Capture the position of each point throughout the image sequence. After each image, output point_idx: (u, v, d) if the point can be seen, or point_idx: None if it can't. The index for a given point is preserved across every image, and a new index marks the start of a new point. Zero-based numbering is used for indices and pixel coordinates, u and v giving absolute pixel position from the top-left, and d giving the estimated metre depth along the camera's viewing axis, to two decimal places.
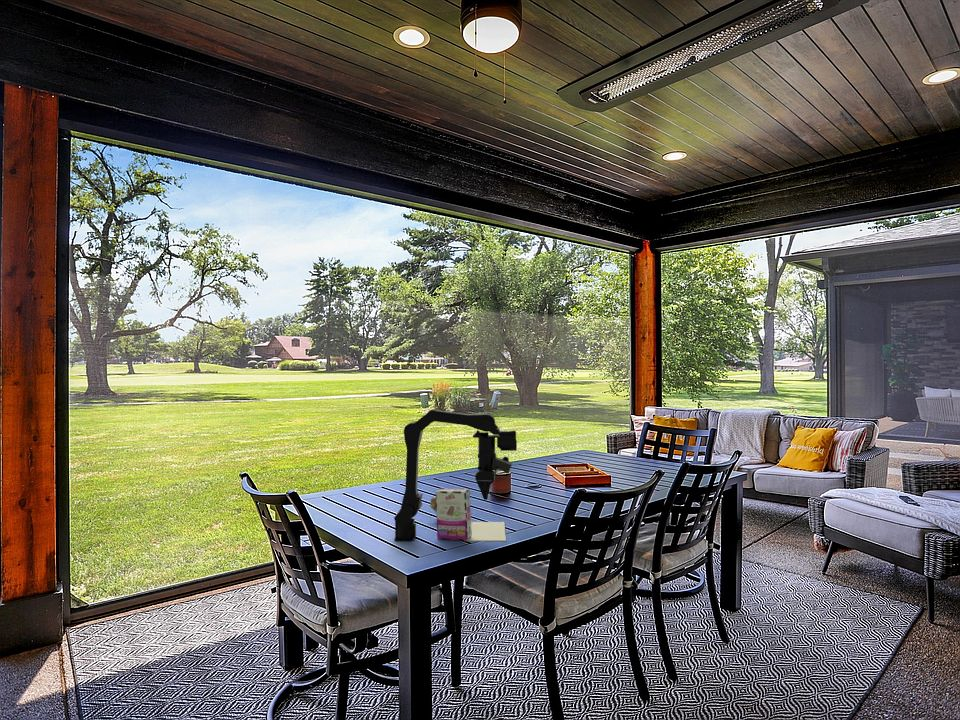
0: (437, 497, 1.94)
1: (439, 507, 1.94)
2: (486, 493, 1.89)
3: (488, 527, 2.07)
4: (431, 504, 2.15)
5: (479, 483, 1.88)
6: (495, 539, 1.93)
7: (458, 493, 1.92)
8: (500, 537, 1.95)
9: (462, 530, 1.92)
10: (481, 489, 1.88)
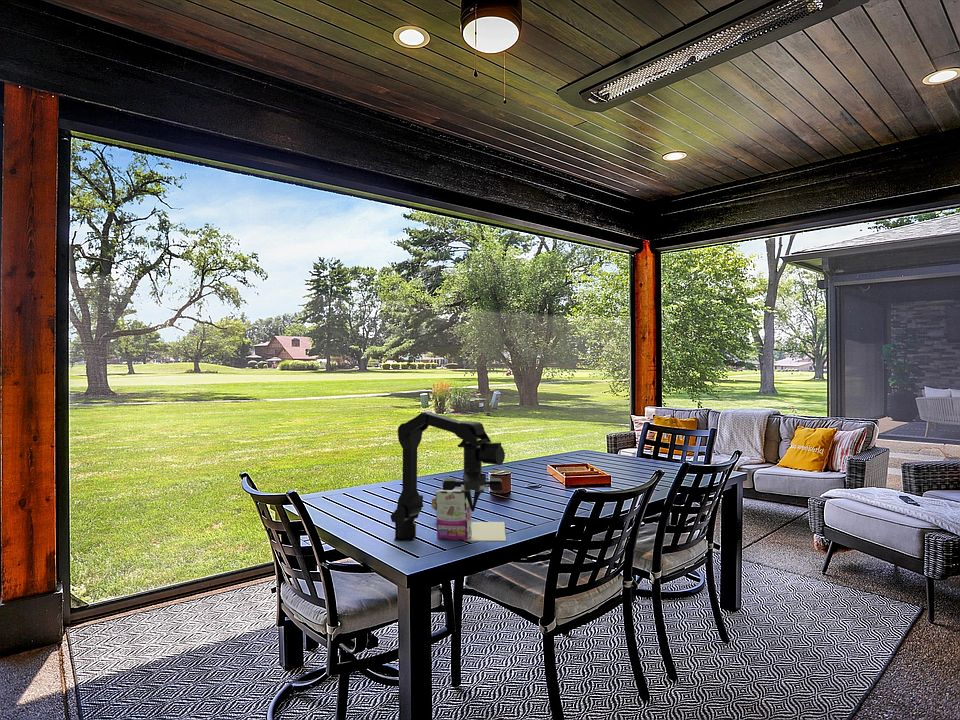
0: (437, 497, 1.94)
1: (439, 507, 1.94)
2: (469, 504, 1.81)
3: (488, 527, 2.07)
4: (432, 504, 2.14)
5: None
6: (495, 539, 1.93)
7: (458, 493, 1.92)
8: (500, 537, 1.95)
9: (462, 530, 1.92)
10: None
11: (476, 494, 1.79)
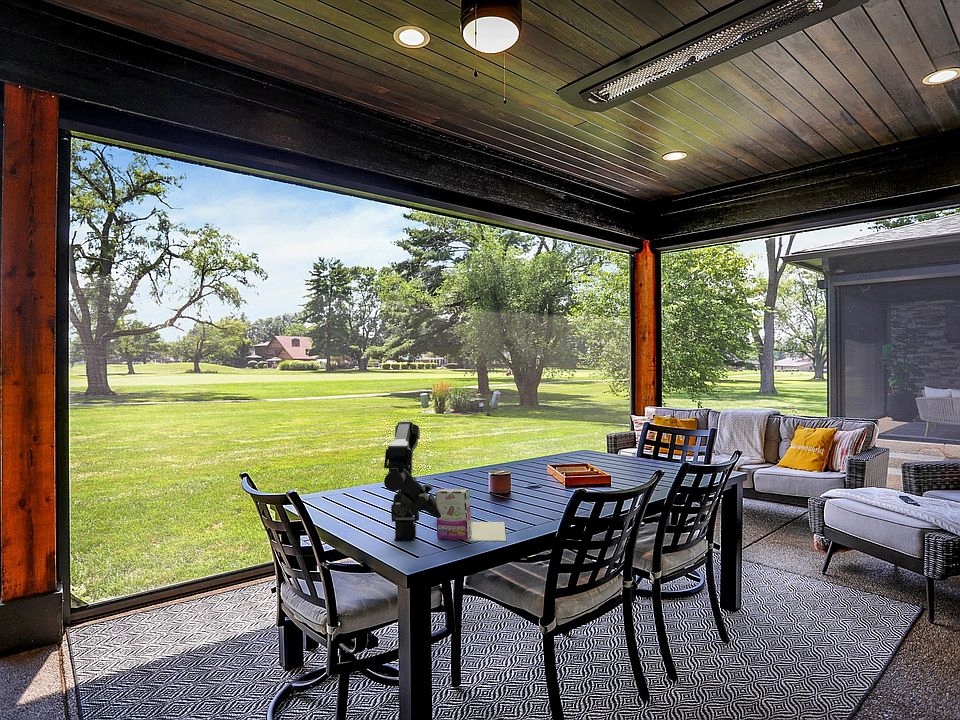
0: (437, 497, 1.94)
1: (439, 507, 1.94)
2: None
3: (488, 527, 2.07)
4: None
5: None
6: (495, 539, 1.93)
7: (458, 493, 1.92)
8: (500, 537, 1.95)
9: (462, 530, 1.92)
10: None
11: None
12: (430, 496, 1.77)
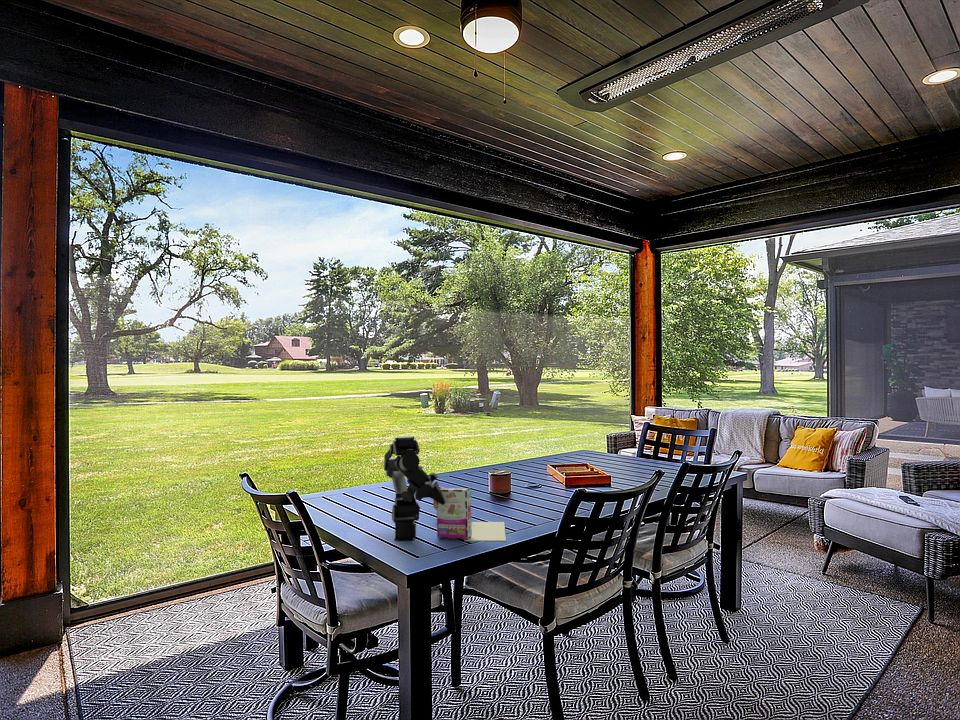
0: None
1: (439, 505, 1.95)
2: None
3: (488, 527, 2.07)
4: (434, 504, 2.14)
5: None
6: (495, 539, 1.93)
7: (459, 491, 1.93)
8: (500, 537, 1.95)
9: (462, 528, 1.92)
10: None
11: None
12: (435, 484, 1.91)
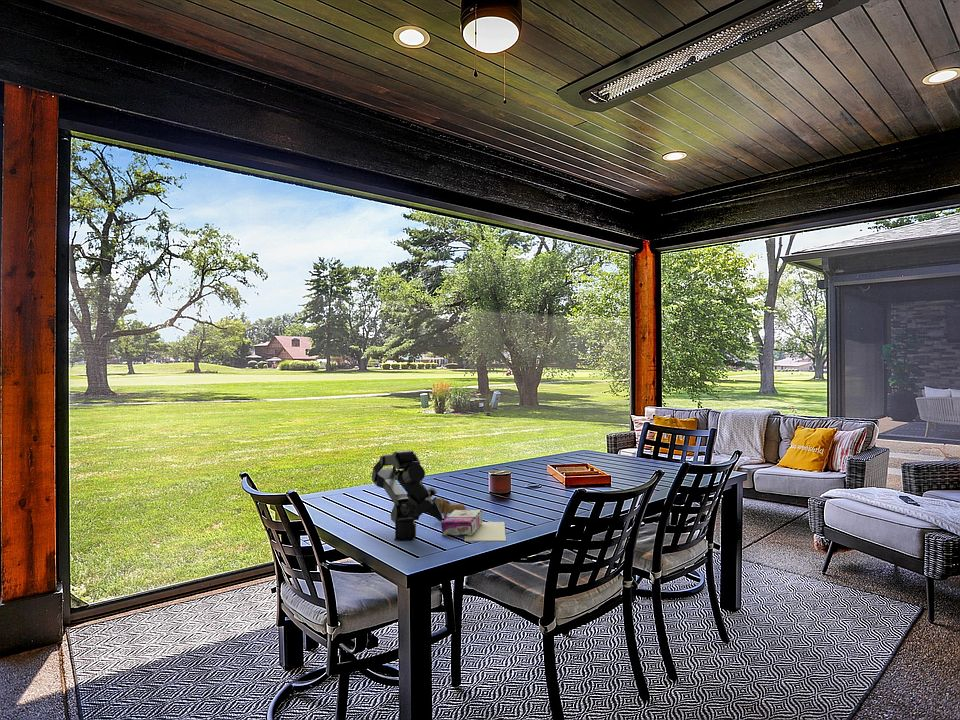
0: (454, 511, 2.12)
1: (452, 513, 2.08)
2: None
3: (488, 527, 2.07)
4: None
5: None
6: (495, 539, 1.93)
7: (475, 510, 2.11)
8: (500, 537, 1.95)
9: (468, 519, 1.99)
10: None
11: None
12: (434, 500, 1.92)
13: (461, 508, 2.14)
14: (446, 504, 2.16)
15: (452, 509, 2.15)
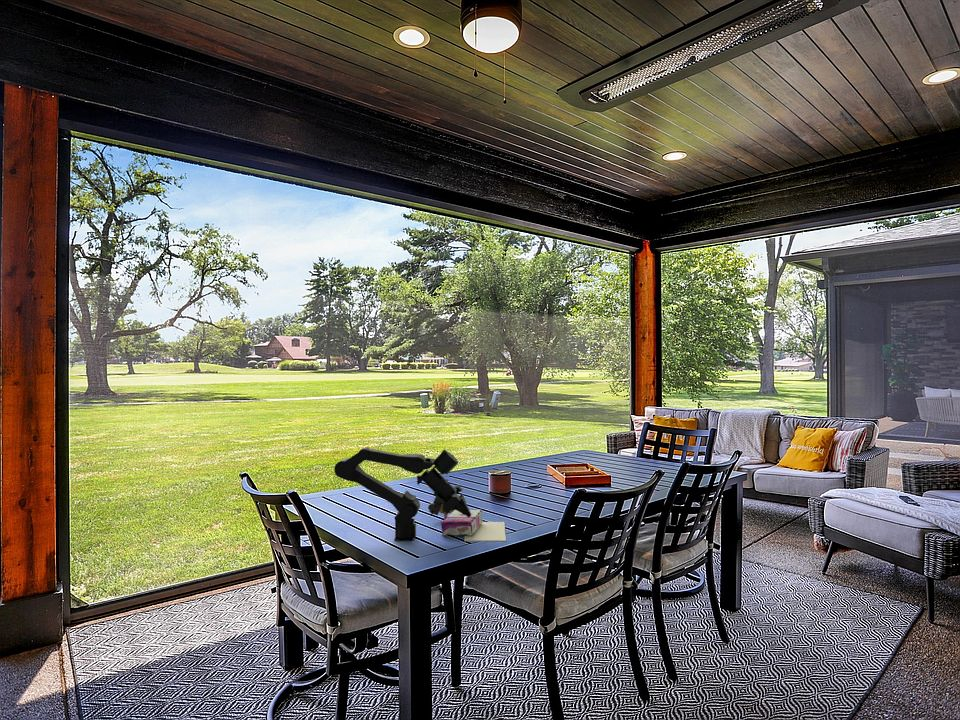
0: (454, 511, 2.12)
1: (452, 513, 2.08)
2: None
3: (488, 527, 2.07)
4: None
5: None
6: (495, 539, 1.93)
7: (475, 510, 2.11)
8: (500, 537, 1.95)
9: (468, 519, 1.99)
10: None
11: None
12: (461, 497, 1.93)
13: None
14: None
15: None
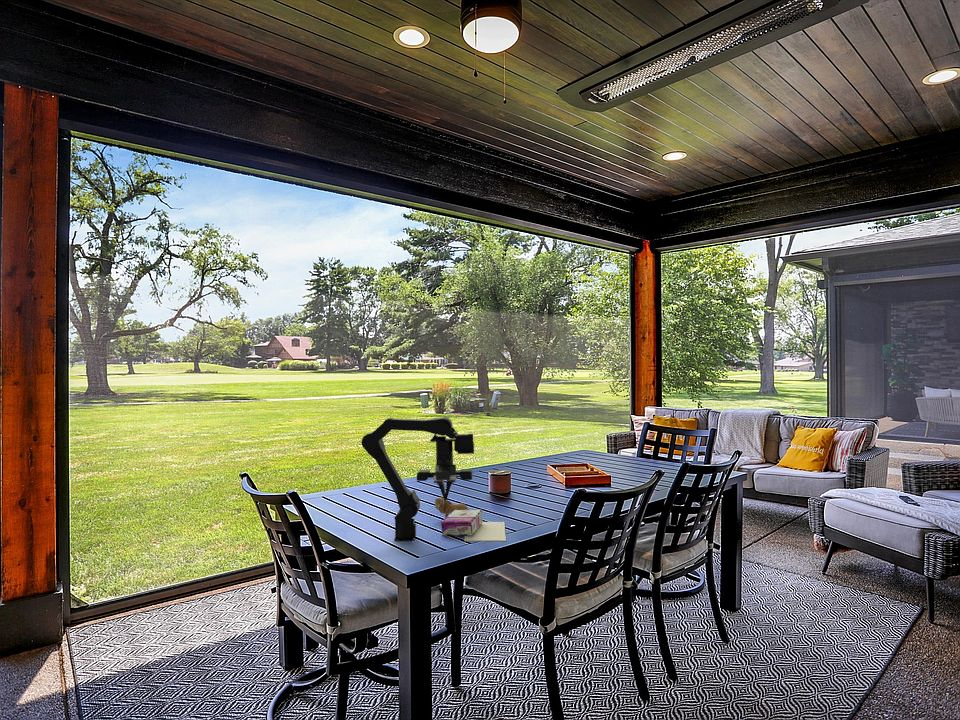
0: (454, 511, 2.12)
1: (452, 513, 2.08)
2: (442, 493, 1.95)
3: (488, 527, 2.07)
4: (436, 504, 2.14)
5: None
6: (495, 539, 1.93)
7: (475, 510, 2.11)
8: (500, 537, 1.95)
9: (468, 519, 1.99)
10: None
11: (447, 483, 1.93)
12: None
13: (463, 508, 2.14)
14: (448, 504, 2.16)
15: (454, 509, 2.15)
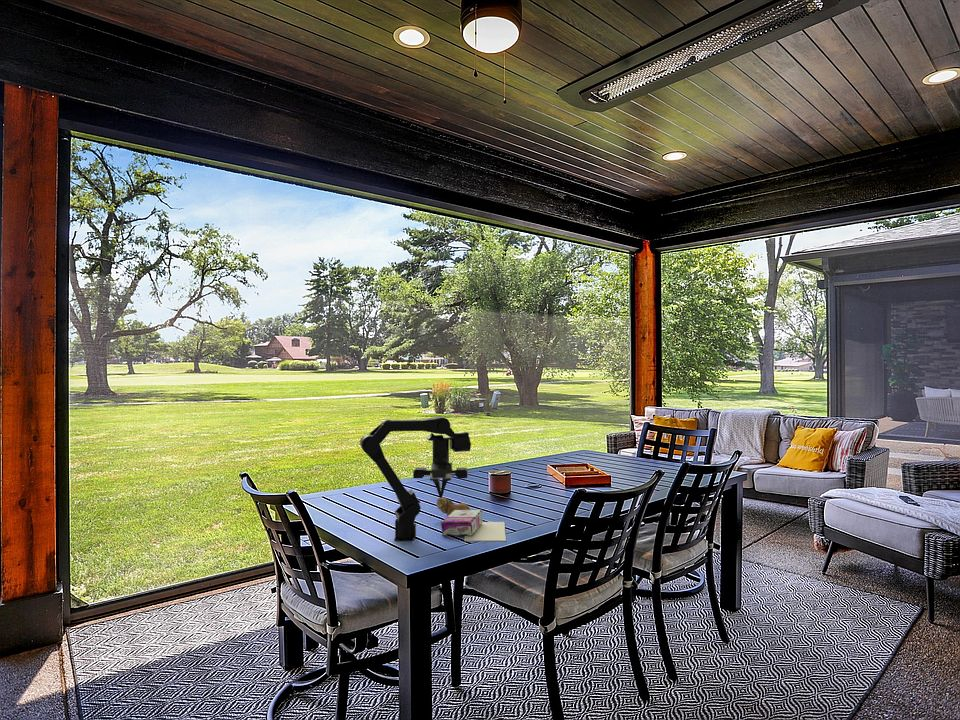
0: (454, 511, 2.12)
1: (452, 513, 2.08)
2: None
3: (488, 527, 2.07)
4: (438, 504, 2.14)
5: None
6: (495, 539, 1.93)
7: (475, 510, 2.11)
8: (500, 537, 1.95)
9: (468, 519, 1.99)
10: None
11: (443, 481, 1.97)
12: None
13: (465, 508, 2.15)
14: (449, 504, 2.16)
15: (456, 509, 2.15)
